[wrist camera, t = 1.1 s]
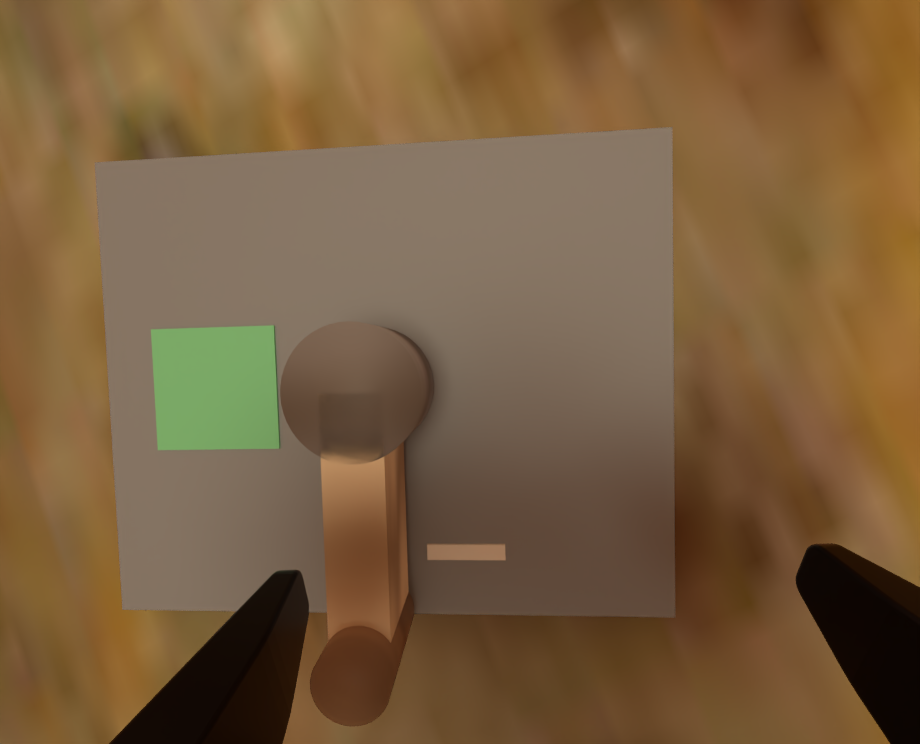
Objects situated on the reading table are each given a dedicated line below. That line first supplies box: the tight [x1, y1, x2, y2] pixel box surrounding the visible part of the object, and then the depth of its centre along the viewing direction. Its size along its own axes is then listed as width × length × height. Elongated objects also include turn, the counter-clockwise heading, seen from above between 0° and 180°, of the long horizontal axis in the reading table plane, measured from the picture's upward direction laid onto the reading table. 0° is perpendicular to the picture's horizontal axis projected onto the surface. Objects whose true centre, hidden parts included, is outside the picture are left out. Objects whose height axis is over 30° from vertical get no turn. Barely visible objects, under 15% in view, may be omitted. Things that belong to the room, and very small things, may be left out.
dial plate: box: [95, 127, 675, 617], centre depth 18 cm, size 18×22×2 cm
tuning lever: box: [280, 321, 434, 726], centre depth 15 cm, size 12×4×4 cm, turn 2°
